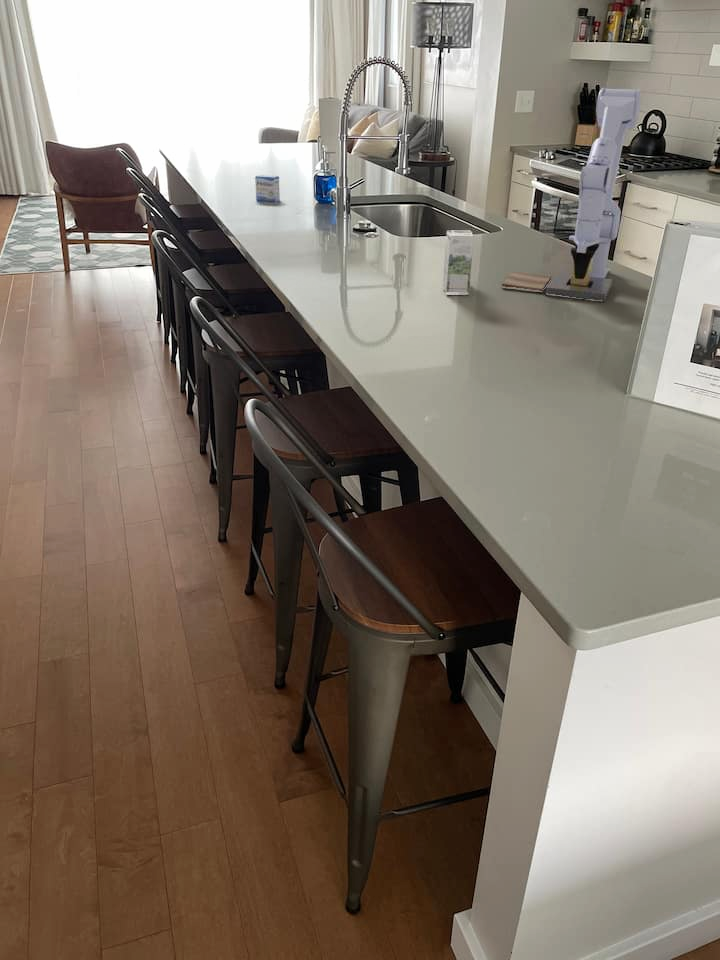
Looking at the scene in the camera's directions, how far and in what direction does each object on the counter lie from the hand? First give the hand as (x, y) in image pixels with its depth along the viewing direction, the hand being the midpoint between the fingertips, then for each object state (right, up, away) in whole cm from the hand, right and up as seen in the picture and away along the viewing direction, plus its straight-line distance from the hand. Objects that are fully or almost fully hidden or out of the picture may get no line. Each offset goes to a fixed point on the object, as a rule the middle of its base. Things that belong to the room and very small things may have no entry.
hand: (580, 276), depth 192 cm
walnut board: (-12, -1, +6) cm, 14 cm away
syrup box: (-31, -4, 0) cm, 31 cm away
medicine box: (-88, +54, +102) cm, 145 cm away
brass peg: (0, -3, +2) cm, 3 cm away
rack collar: (0, -3, +2) cm, 4 cm away
